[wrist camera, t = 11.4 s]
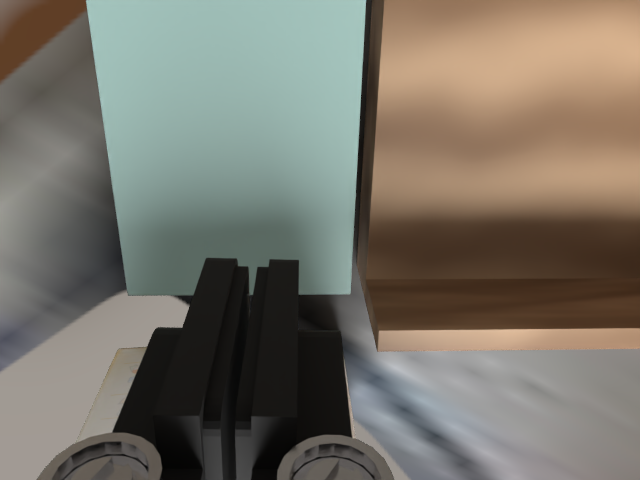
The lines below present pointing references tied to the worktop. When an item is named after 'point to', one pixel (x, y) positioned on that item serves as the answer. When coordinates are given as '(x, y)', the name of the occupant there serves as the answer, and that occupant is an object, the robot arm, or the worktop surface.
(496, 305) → the shelf
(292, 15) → the tailgate
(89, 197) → the worktop surface
